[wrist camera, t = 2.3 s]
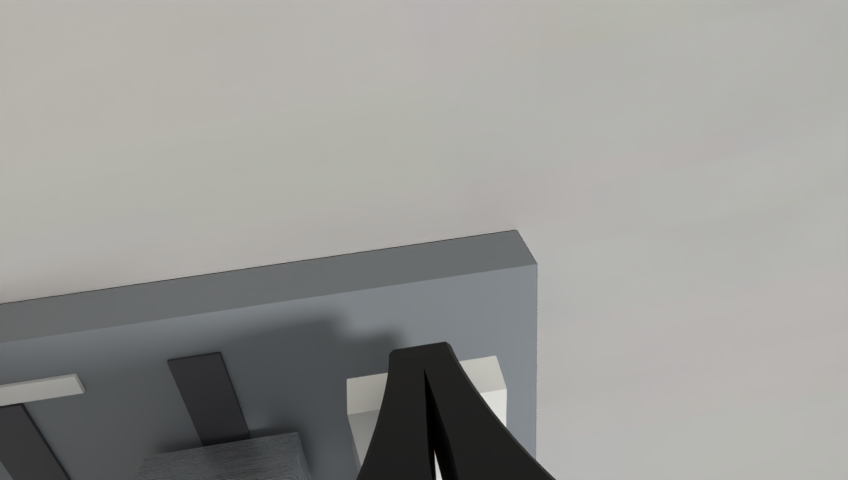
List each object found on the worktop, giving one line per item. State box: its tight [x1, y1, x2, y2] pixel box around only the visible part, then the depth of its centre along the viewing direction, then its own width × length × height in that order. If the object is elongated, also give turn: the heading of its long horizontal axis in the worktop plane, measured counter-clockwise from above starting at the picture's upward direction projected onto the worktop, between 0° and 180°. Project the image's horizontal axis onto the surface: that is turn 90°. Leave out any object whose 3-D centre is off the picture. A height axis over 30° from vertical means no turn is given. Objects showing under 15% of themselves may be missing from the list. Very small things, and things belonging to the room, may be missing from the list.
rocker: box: [347, 356, 507, 480], centre depth 15 cm, size 8×4×1 cm, turn 6°
